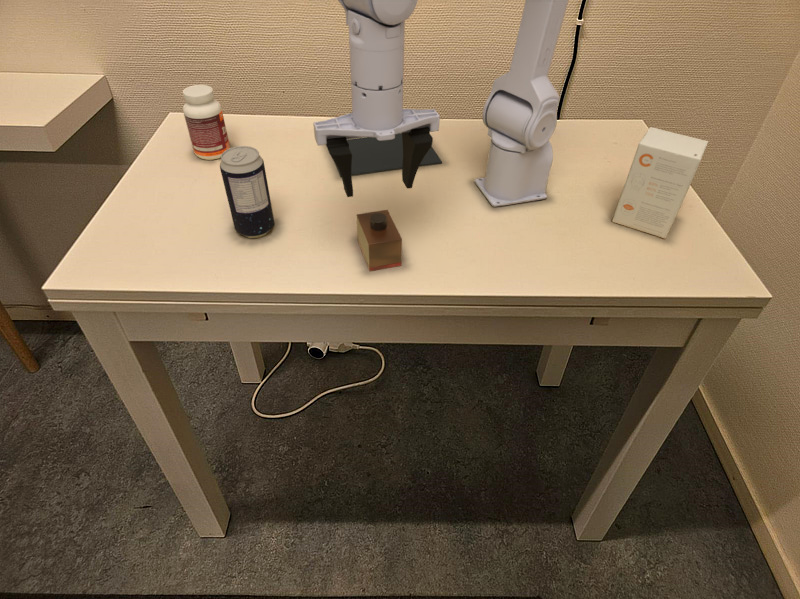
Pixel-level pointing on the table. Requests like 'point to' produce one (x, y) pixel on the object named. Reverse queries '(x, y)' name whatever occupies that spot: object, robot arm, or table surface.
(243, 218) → the beverage can
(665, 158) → the small box
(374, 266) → the stamp
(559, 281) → the table surface
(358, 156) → the desk mat
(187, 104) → the pill bottle
